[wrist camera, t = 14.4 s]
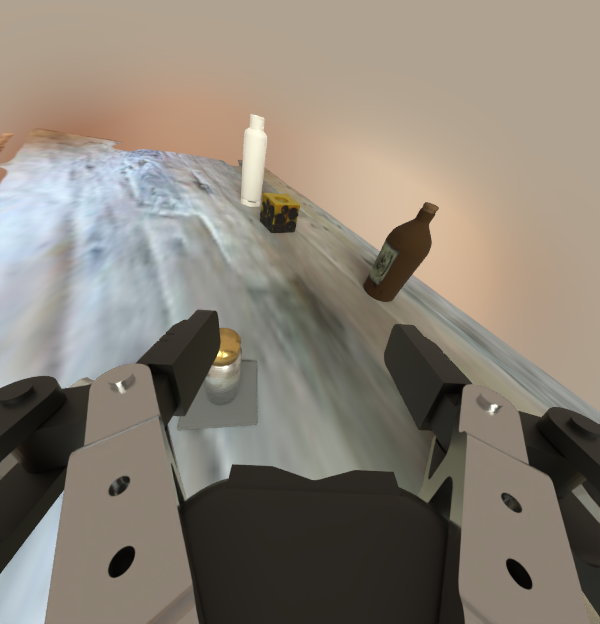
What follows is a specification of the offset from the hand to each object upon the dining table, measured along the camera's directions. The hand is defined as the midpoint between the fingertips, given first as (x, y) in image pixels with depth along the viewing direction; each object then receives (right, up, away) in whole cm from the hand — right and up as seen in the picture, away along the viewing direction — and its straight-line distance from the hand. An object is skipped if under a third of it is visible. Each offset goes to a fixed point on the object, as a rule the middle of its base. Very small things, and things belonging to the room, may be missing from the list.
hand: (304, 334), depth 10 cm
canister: (-12, -11, +22) cm, 27 cm away
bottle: (-21, +47, +82) cm, 96 cm away
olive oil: (+23, +7, +55) cm, 60 cm away
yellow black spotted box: (-9, +33, +71) cm, 79 cm away
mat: (-12, -11, +23) cm, 28 cm away
